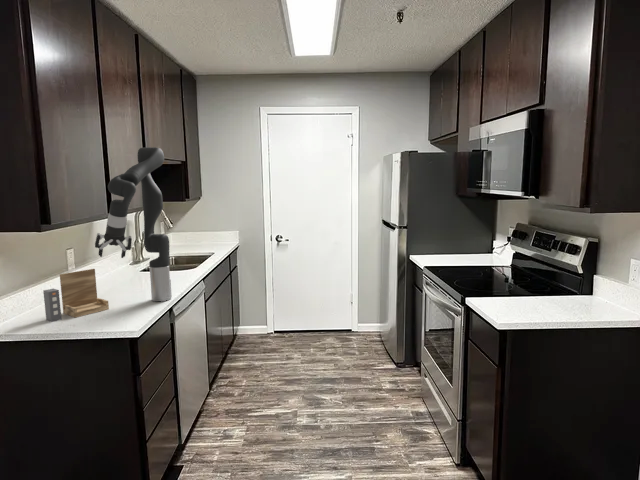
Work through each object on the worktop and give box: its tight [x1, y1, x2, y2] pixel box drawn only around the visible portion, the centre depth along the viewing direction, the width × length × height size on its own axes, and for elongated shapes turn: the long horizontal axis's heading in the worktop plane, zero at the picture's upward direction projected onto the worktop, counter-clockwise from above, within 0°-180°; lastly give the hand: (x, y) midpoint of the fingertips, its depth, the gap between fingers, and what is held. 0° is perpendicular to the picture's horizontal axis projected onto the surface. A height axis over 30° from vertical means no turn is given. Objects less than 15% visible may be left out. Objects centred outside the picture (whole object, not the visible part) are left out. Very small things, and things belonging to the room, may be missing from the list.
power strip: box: [42, 288, 62, 323], centre depth 180 cm, size 5×4×13 cm
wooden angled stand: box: [59, 268, 110, 318], centre depth 191 cm, size 11×15×18 cm
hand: (111, 256), depth 187 cm, fingers open, 8 cm apart
